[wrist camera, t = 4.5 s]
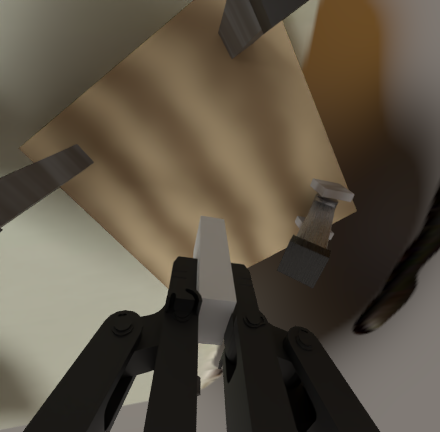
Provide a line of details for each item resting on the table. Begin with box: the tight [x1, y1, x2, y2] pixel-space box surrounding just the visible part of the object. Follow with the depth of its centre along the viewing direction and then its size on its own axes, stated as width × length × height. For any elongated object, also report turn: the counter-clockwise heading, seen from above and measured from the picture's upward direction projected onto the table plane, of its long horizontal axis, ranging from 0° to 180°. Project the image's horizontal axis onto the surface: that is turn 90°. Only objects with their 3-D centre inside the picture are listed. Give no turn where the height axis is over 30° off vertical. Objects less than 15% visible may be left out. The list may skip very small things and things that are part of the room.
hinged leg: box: [277, 193, 338, 288], centre depth 20 cm, size 13×3×2 cm
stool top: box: [0, 0, 357, 396], centre depth 19 cm, size 24×24×16 cm
